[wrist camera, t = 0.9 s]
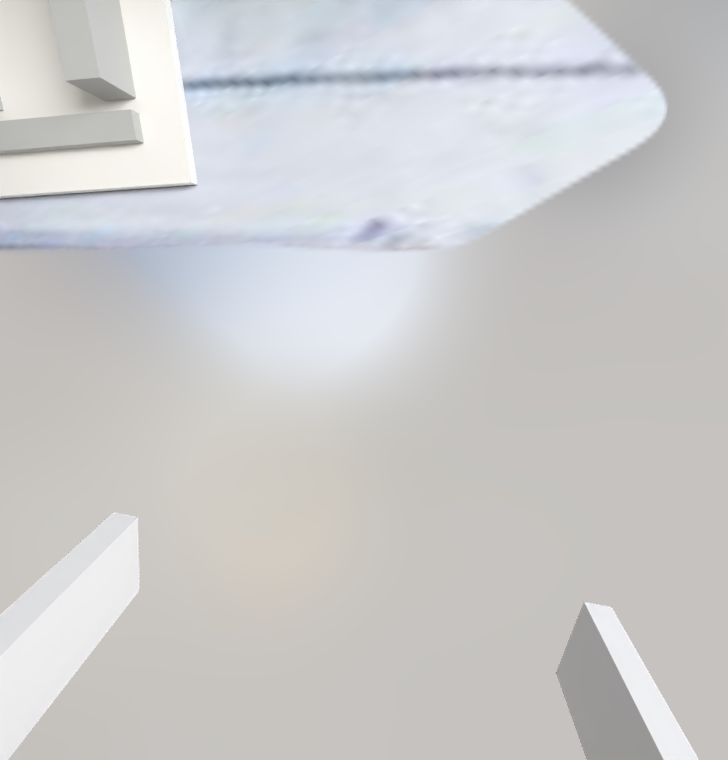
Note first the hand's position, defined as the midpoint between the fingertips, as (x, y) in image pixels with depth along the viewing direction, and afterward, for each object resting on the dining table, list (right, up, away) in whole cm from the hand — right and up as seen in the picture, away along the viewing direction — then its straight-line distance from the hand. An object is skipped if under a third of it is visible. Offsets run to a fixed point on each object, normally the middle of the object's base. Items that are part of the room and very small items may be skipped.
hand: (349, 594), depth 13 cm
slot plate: (-23, +31, +20) cm, 44 cm away
